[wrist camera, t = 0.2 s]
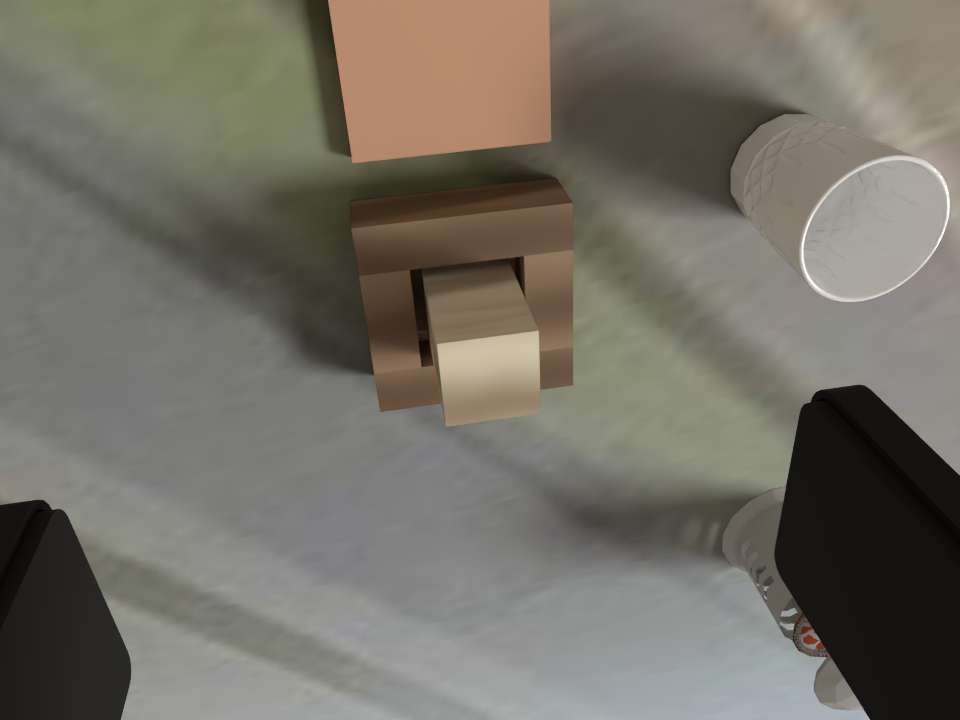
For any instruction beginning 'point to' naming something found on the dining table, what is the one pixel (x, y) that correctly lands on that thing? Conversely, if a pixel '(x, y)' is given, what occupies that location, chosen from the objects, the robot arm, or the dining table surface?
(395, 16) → the terracotta tile
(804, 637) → the french press
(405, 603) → the dining table surface
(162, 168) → the dining table surface
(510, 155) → the dining table surface
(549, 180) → the walnut holder
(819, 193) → the white cup
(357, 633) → the dining table surface
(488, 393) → the birch peg
